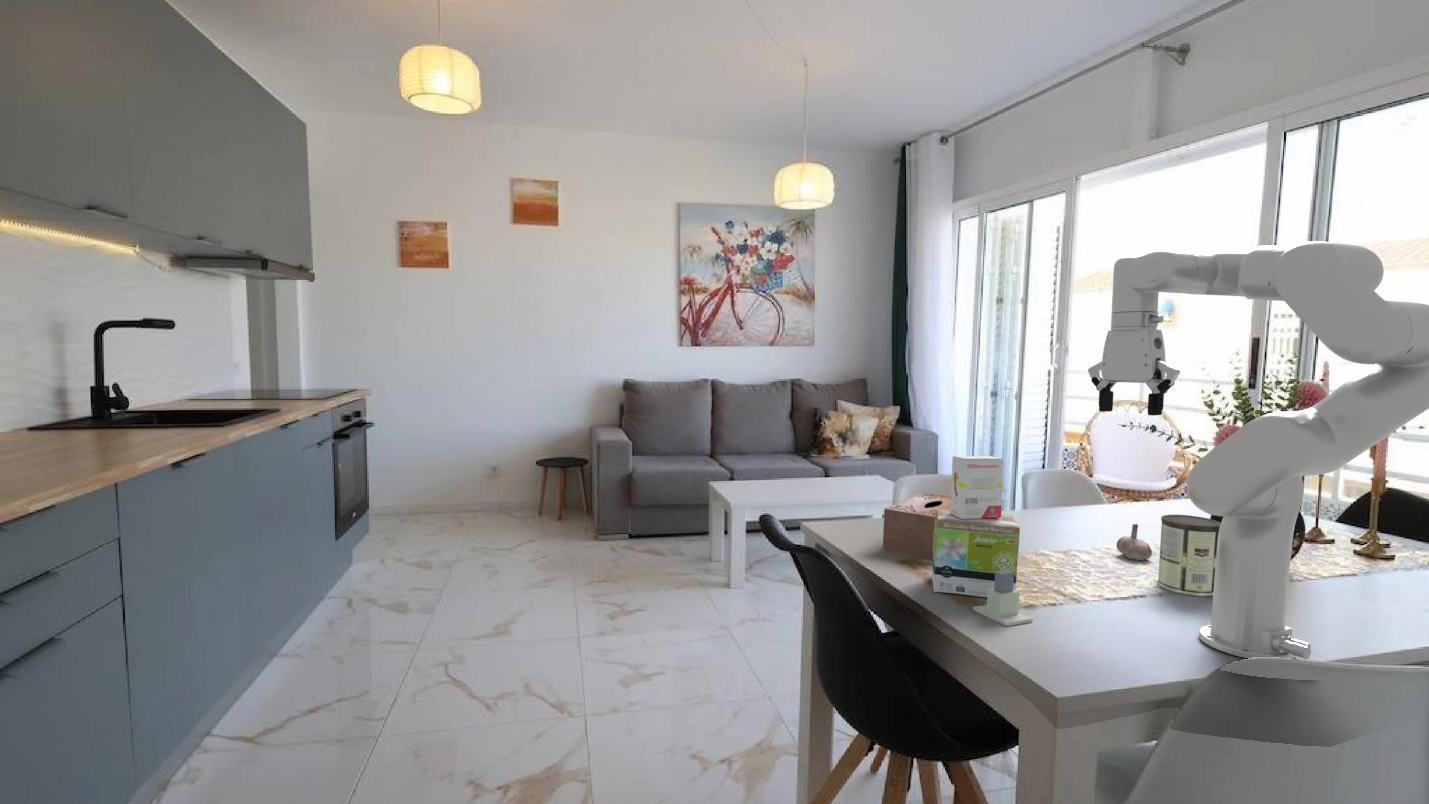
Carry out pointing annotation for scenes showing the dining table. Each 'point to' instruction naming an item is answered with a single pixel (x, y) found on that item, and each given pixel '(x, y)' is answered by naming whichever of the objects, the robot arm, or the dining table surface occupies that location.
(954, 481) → the ink box
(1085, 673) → the dining table surface
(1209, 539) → the coffee can
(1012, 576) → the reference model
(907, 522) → the tissue box cover
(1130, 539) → the garlic bulb
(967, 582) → the tea box
